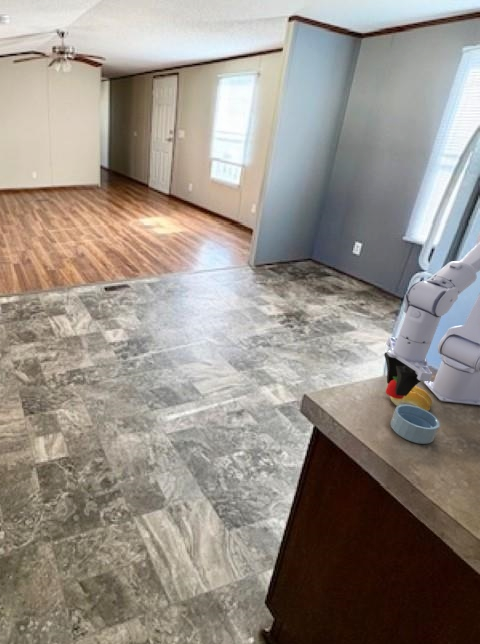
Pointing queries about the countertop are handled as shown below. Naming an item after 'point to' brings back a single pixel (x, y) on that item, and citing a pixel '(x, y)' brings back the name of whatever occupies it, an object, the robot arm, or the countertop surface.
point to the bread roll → (415, 399)
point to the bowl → (414, 424)
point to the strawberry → (393, 389)
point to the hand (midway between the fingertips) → (396, 389)
